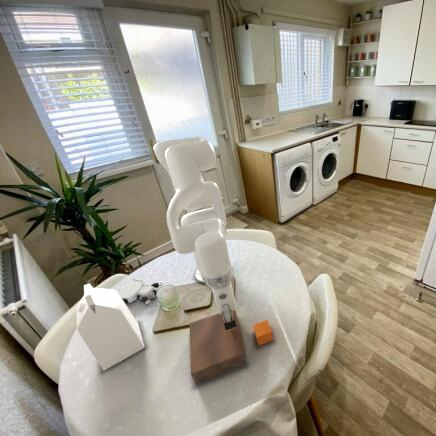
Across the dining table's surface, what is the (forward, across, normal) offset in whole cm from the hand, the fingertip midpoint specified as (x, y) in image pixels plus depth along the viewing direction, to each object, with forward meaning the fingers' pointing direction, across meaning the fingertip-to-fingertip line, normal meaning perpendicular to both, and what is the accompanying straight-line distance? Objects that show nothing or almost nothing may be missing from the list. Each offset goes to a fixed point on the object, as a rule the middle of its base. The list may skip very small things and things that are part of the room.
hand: (228, 314), depth 75 cm
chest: (+13, -1, +6) cm, 14 cm away
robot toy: (+14, +36, +33) cm, 51 cm away
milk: (+14, +13, +36) cm, 41 cm away
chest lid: (+8, -1, +5) cm, 10 cm away
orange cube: (+13, -3, -9) cm, 16 cm away
